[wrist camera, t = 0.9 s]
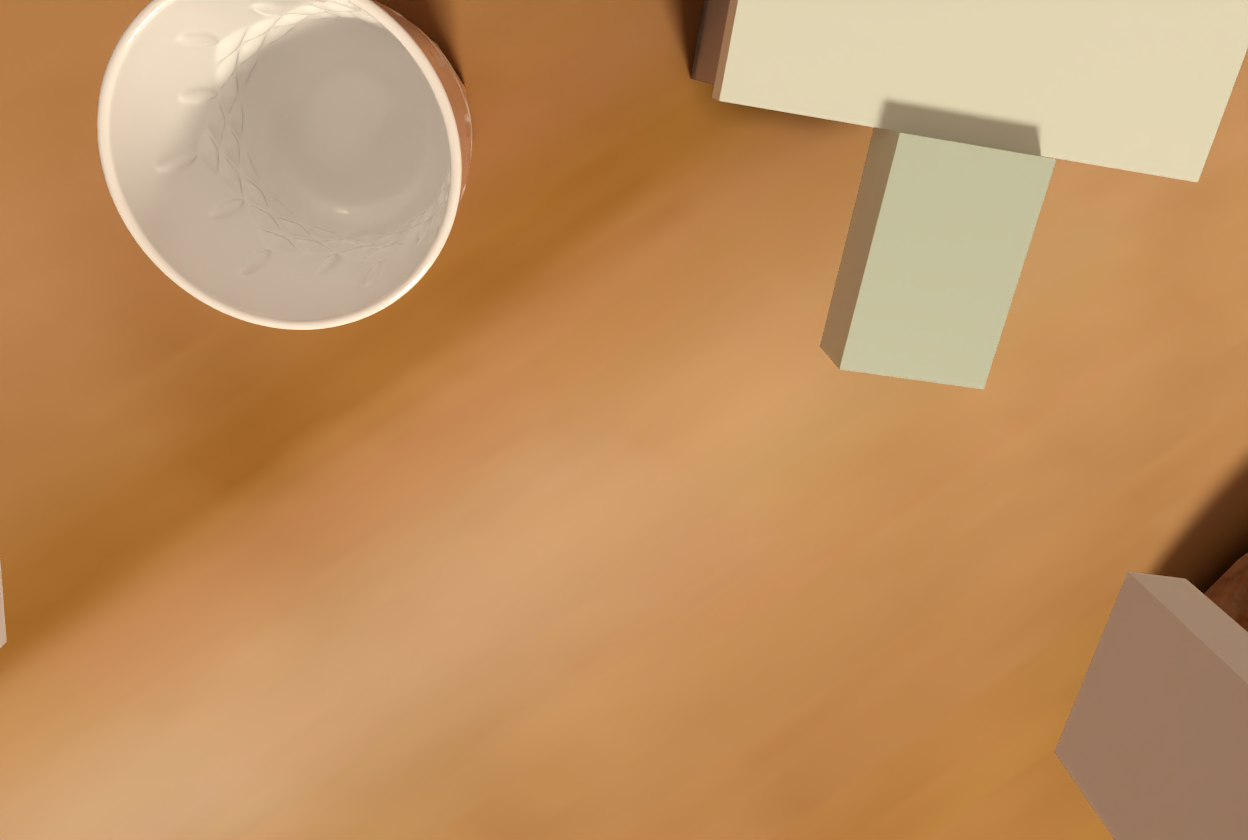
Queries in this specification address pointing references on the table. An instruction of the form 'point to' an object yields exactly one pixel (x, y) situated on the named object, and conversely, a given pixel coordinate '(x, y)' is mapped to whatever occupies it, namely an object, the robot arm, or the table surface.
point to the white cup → (284, 153)
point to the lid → (975, 140)
